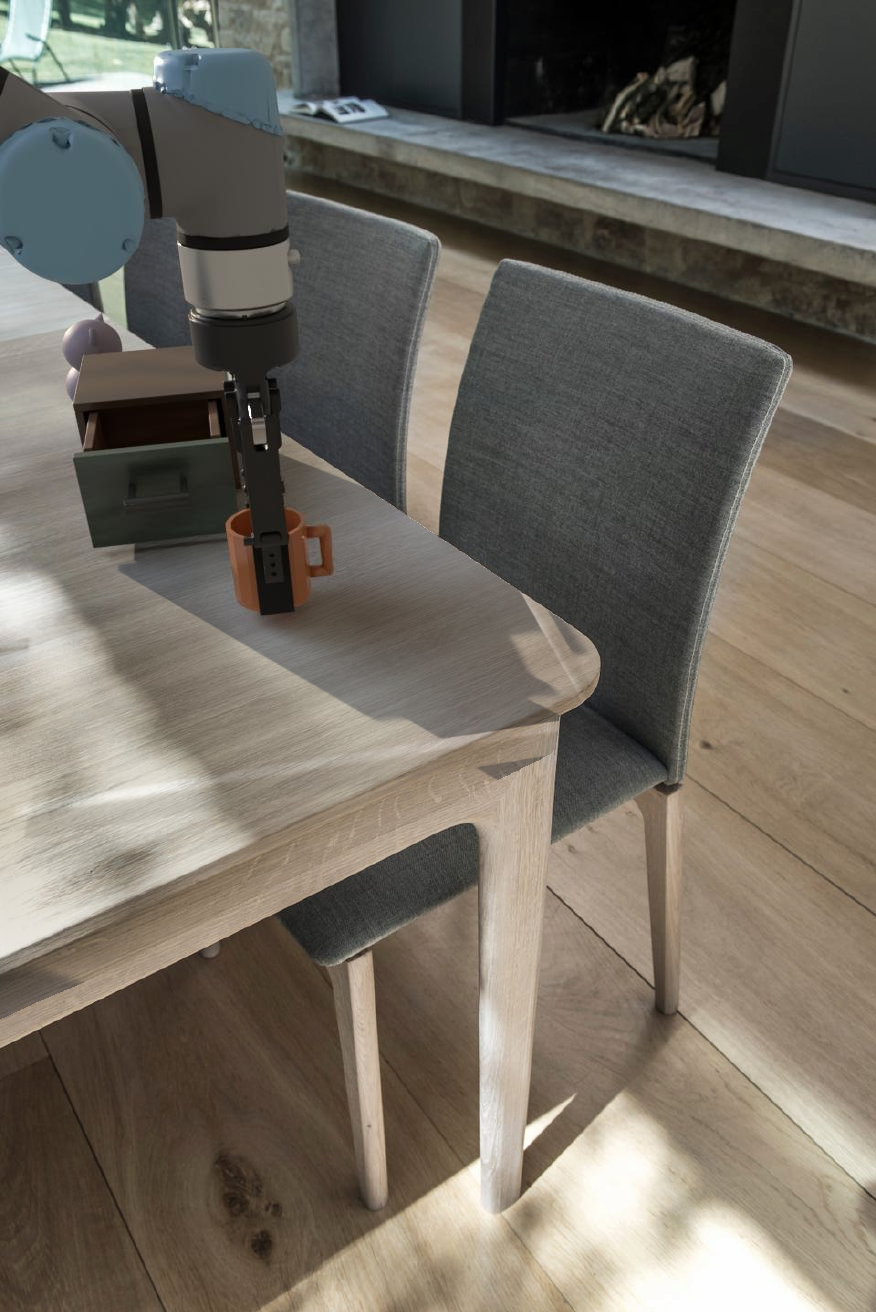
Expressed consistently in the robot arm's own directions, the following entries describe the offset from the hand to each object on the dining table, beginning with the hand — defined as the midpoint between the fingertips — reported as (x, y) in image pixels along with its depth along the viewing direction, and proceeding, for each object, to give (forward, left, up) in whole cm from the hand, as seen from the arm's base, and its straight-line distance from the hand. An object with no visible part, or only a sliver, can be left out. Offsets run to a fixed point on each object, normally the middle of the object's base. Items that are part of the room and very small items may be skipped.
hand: (273, 590), depth 86 cm
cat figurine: (-16, +49, -2) cm, 51 cm away
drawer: (-9, +19, -1) cm, 21 cm away
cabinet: (-9, +33, -2) cm, 34 cm away
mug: (0, 0, 0) cm, 0 cm away
